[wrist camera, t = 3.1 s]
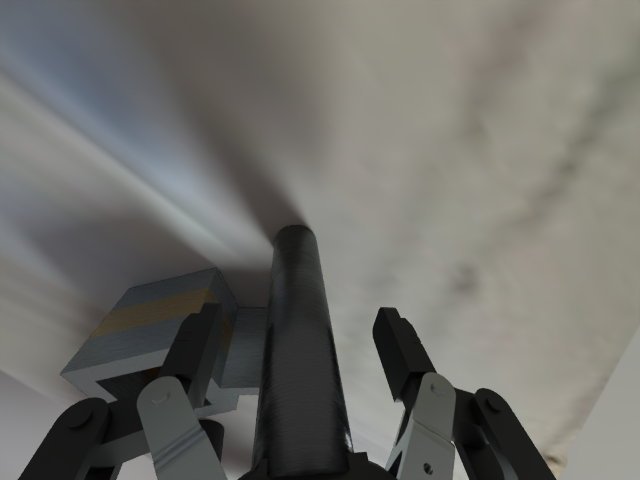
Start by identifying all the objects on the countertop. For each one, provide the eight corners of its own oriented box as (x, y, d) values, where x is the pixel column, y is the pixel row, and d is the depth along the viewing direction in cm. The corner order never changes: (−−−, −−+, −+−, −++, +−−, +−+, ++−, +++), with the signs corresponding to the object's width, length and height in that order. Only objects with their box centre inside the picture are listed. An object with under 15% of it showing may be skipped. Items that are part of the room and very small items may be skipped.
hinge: (336, 338, 25) (351, 414, 19) (143, 383, 26) (99, 471, 20) (310, 244, 20) (319, 313, 14) (61, 305, 20) (-36, 396, 14)
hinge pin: (320, 255, 20) (365, 497, 8) (281, 264, 20) (269, 517, 8) (311, 220, 19) (350, 458, 7) (268, 230, 19) (230, 484, 7)
